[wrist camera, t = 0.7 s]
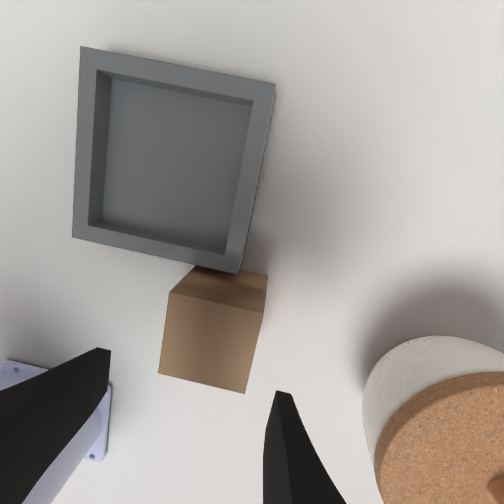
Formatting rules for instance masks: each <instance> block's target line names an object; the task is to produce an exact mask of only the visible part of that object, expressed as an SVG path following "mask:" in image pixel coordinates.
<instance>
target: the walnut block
mask: <svg viewBox="0 0 504 504" xmlns="http://www.w3.org/2000/svg"><path fill="white" fill-rule="evenodd" d="M267 279H268V277H267V276H263V275H258V274H254V273H249V272H245V271H240V270H239V271H238V274H234V273H230V272H225V271H221V270H216V269H212V268H207V267H203V266H198V265H196V266H195V267H194V268H193V269H192V270H191V271H190V272H189V273H188V274H187V275H186V276H185V277H184V278H183V279H182V280H181V281H180V282H179V283H178V284H177V285H176V286H175V287H174V288H173V289H172V290H171V291H170V292H169V298H168V305H167V313H166V320H165V327H164V334H163V341H162V349H161V356H160V363H159V370H158V373H160V374H164V375H168V376H172V377H176V378H180V379H184V380H189V381H193V382H197V383H201V384H205V385H209V386H214V387H218V388H222V389H226V390H230V391H234V392H238V393H243V394H245V391H246V386H247V382H248V378H249V373H250V369H251V365H252V361H253V356H254V352H255V348H256V343H257V339H258V335H259V331H260V326H261V322H262V318H263V313H264V305H265V296H266V288H267Z"/></svg>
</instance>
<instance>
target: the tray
mask: <svg viewBox="0 0 504 504" xmlns="http://www.w3.org/2000/svg"><path fill="white" fill-rule="evenodd" d="M275 98H276V90H275V84H272V83H267V82H262V81H257V80H252V79H247V78H242V77H236V76H231V75H226V74H221V73H216V72H211V71H206V70H201V69H196V68H191V67H185V66H180V65H175V64H170V63H165V62H160V61H155V60H150V59H145V58H139V57H134V56H129V55H124V54H119V53H114V52H109V51H104V50H99V49H93V48H88V47H83V46H80V67H79V90H78V113H77V135H76V158H75V181H74V203H73V226H72V237H73V238H78V239H82V240H87V241H91V242H96V243H100V244H105V245H109V246H114V247H118V248H122V249H127V250H131V251H136V252H140V253H145V254H149V255H154V256H158V257H163V258H167V259H172V260H176V261H181V262H185V263H189V264H194V265H198V266H203V267H207V268H212V269H216V270H221V271H225V272H230V273H234V274H238V271H239V269H240V267H241V265H242V261H243V256H244V251H245V246H246V241H247V236H248V231H249V226H250V221H251V216H252V211H253V206H254V201H255V196H256V192H257V187H258V182H259V177H260V172H261V167H262V162H263V157H264V152H265V147H266V142H267V137H268V132H269V127H270V122H271V117H272V113H273V108H274V103H275Z"/></svg>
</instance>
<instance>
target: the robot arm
mask: <svg viewBox="0 0 504 504" xmlns="http://www.w3.org/2000/svg"><path fill="white" fill-rule="evenodd" d="M110 357H111V351H110V350H106V349H102V348H98V347H97V348H95V349H93V350H90V351H88V352H86V353H84V354H82V355H80V356H78V357H76V358H74V359H72V360H69V361H67V362H65V363H63V364H61V365H59V366H57V367H55V368H53V369H50V370H48V369H44V368H40V367H36V366H32V365H27V364H23V363H19V362H15V361H11V360H5V361H3V362H2V363H1V364H0V504H51V503H52V501H53V500H54V498H55V497H56V495H57V494H58V493H59V491H60V490H61V488H62V487H63V486H64V484H65V483H66V481H67V480H68V479H69V477H70V476H71V474H72V473H73V472H74V470H75V469H76V467H77V466H78V465H79V463H80V462H81V460H82V459H83V458H85V459H89V460H93V461H97V462H101V461H102V460H103V459H104V457H105V454H106V443H107V433H108V422H109V411H110V400H111V387H110V386H109V385H108V379H109V368H110ZM263 504H346V502H345V501H344V499H343V498H342V496H341V495H340V493H339V491H338V490H337V488H336V487H335V485H334V483H333V482H332V480H331V478H330V477H329V475H328V473H327V472H326V470H325V468H324V466H323V464H322V463H321V461H320V459H319V457H318V455H317V453H316V451H315V449H314V447H313V445H312V443H311V441H310V439H309V436H308V434H307V432H306V430H305V428H304V425H303V423H302V421H301V418H300V416H299V413H298V411H297V408H296V406H295V403H294V400H293V397H292V395H291V394H289V393H285V392H281V391H277V390H276V393H275V397H274V400H273V404H272V408H271V412H270V415H269V419H268V423H267V427H266V432H265V441H264V452H263Z"/></svg>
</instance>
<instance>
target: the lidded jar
mask: <svg viewBox="0 0 504 504" xmlns="http://www.w3.org/2000/svg"><path fill="white" fill-rule="evenodd" d="M362 415H363V425H364V431H365V436H366V442H367V447H368V450H369V454H370V457H371V460H372V463H373V466H374V471H375V477H376V482H377V485H378V489H379V492H380V494H381V497H382V500H383V502H384V504H504V353H502V352H500V351H498V350H496V349H493V348H491V347H489V346H486V345H484V344H482V343H479V342H475V341H471V340H468V339H463V338H459V337H452V336H426V337H420V338H416V339H412V340H409V341H406V342H404V343H402V344H400V345H397V346H396V347H394V348H393V349H391V350H390V351H388V352H387V353H386V354H385V355H384V356H383V357H382V358H381V359H380V360H379V361H378V362H377V363H376V365H375V366H374V368H373V370H372V371H371V373H370V375H369V377H368V380H367V382H366V385H365V390H364V395H363V401H362Z"/></svg>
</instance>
